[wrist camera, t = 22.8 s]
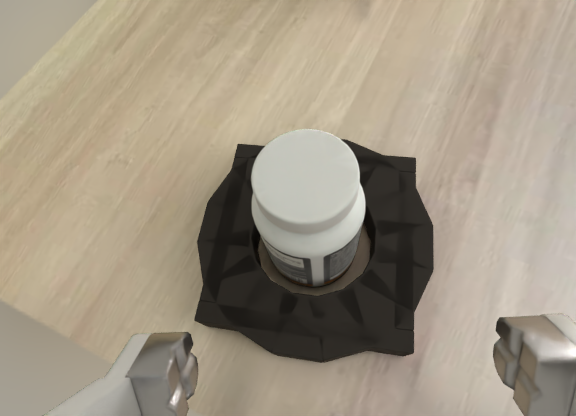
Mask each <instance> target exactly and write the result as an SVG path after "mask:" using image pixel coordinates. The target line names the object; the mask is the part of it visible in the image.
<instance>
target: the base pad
mask: <svg viewBox="0 0 576 416" xmlns="http://www.w3.org/2000/svg"><path fill="white" fill-rule="evenodd" d="M341 140H342V141H343V142H344V143H345V144H347V145H348V146H349V148H350V149H351V150H352V152H353V153H354V155H355V157H356V159H357V162H358V165H359V171H360V184H361V186H362V189H363V192H364V196H365V217H364V221H363V222H364V224H365V227H366V230H367V232H368V235H369V238H370V241H371V250H370V261H369V263H368V265H367V267H366V269H365V271H364V273H363V274H362V275H361V276H359V277H358V278H357V279H356V280H354V281H353V282H352V283H350V284H349V285H348V286H347V287H345V288H344V289H343V290H339V291H335V292H331V293H328V294H324V295H320V296H313V295H306V294H299V293H292V292H290V291H289V290H287V289H285V288H283V287H282V286H280V285H278V284H277V283H275V282H273V281H272V280H270V278H269V277H268V276H267V274H266V273H265V272H264V270H263V269H262V268H261V263H260V258H259V254H258V246H259V241H260V233H259V231H258V229H257V227H256V225H255V222H254V219H253V215H252V195H253V189H252V182H251V174H252V169H253V165H254V162H255V160H256V158H257V156H258V154H259V153H260V152H261V150H262V149H263V148H264V147H265V146H259V145H246V144H238V145H237V149H236V153H235V158H234V162H233V166H232V170H231V171H230V173H229V174H228V175H227V177H226V178H225V179H224V181H223V182H222V183H221V185H220V186H219V187H218V189H217V190H216V192H215V193H214V194H213V196H212V197H211V198H210V200H209V202H208V203H207V207H206V211H205V215H204V218H203V222H202V226H201V230H200V233H199V237H198V241H197V244H198V251H199V257H200V264H201V271H202V278H203V288H202V292H201V296H200V301H199V303H198V307H197V311H196V315H195V321H197V322H199V323H201V324H203V325H205V326H208V327H215V328H222V329H228V330H235V331H239V332H240V333H242V334H243V335H245V336H246V337H248V338H249V339H251V340H252V341H254V342H255V343H257V344H258V345H260V346H262V347H263V348H265V349H266V350H268V351H269V352H271V353H273V354H275V355H277V356H284V357H290V358H296V359H302V360H309V361H315V362H321V363H322V362H328V361H331V360H335V359H339V358H342V357H346V356H350V355H353V354H357V353H361V352H364V351H372V352H379V353H385V354H392V355H399V356H406V355H410V354H413V353H414V331H413V330H414V312H415V309H416V307H417V305H418V303H419V301H420V299H421V296H422V294H423V292H424V290H425V288H426V285H427V283H428V281H429V279H430V277H431V275H432V272H433V269H434V268H433V225H432V222H431V220H430V217H429V215H428V213H427V211H426V209H425V207H424V204H423V202H422V200H421V198H420V196H419V193H418V191H417V189H416V174H415V173H416V158H410V157H398V156H385V155H381V154H379V153H376V152H374V151H372V150H369V149H367V148H365V147H362V146H360V145H358V144H355V143H353V142H351V141H348V140H345V139H341Z"/></svg>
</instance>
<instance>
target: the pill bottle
mask: <svg viewBox="0 0 576 416" xmlns="http://www.w3.org/2000/svg"><path fill="white" fill-rule="evenodd" d="M251 182H252V189H253V195H252V215H253V219H254V222H255V225H256V227H257V229H258V231H259V233H260V236H261V238H262V240H263V242H264V244H265V246H266V249H267V251H268V253H269V255H270V258H271V260H272V262H273V263H274V265H275V267H276V268H277V270H278V271H279V272H280V273H281V274H282V275H283V276H284V277H285V278H287V279H288V280H290V281H292V282H293V283H296V284H299V285H302V286H309V287H317V286H323V285H327V284H330V283H332V282H334V281H336V280H337V279H338V278H340V277H341V276H342V275H343V274H344V273H345V272H346V271H347V270H348V268H349V267H350V265H351V263H352V261H353V259H354V256H355V253H356V250H357V245H358V241H359V237H360V233H361V229H362V225H363V221H364V217H365V196H364V192H363V189H362V186H361V184H360V171H359V165H358V162H357V159H356V157H355V155H354V153H353V152H352V150H351V149H350V148H349V146H348V145H347V144H345V143H344V142H343V141H342V140H341V139H339V138H338V137H336V136H335V135H332V134H330V133H328V132H325V131H321V130H315V129H300V130H294V131H290V132H287V133H284V134H282V135H280V136H278V137H276V138H275V139H273V140H272V141H270V142H269V143H268V144H267V145H266V146H265V147H264V148H263V149H262V150H261V152H260V153H259V154H258V156H257V158H256V160H255V162H254V165H253V169H252V174H251Z"/></svg>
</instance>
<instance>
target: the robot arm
mask: <svg viewBox="0 0 576 416" xmlns="http://www.w3.org/2000/svg"><path fill="white" fill-rule="evenodd" d="M496 332H497V333H498V335H499V336H500V337H501V338H500V339H499V340H498V341H497V342H496V343H495V344H494V350H493V358H494V363H495V368H496V370H497V373H498V375H499V377H500V378H501V380H502V382H503V383H504V384H505V385H507V386H508V387H510V388H511V389H513V390H514V396H513V399H514V401H515V402H516V404H517V405H518V407H519V409H520V410H521V412H522V413H523V415H524V416H576V323H575V322H574V321H573V320H572V319H571V318H570V317H569V316H567V315H565V314H563V313H558V314H544V315H539V316H519V317H500V318H499V319H498V321H497V325H496ZM192 346H193V341H192V337H191V334H189V333H188V332H171V333H142V334H135V335H133V336H131V338H130V339H129V341H128V342H127V344H126V345H125V347H124V348H123V350H122V351H121V353H120V354H119V356H118V357H117V359H116V360H115V362H114V363H113V365H112V366H111V368H110V369H109V371H108V372H107V374H106V376H105V377H104V378H102V379H97V380H95V381H94V382H92V383H91V384H89V385H88V386H86V387H85V388H83V389H82V390H80V391H79V392H77V393H76V394H74V395H73V396H71V397H70V398H69V399H67V400H65V401H64V402H63V403H61V404H59V405H58V406H56V407H55V408H53V409H52V410H50V411H49V412H47V413H46V414H44V415H43V416H187V413H188V410H189V407H188V403H187V400H188V399H189V398H190V397H191V396H192V395H194V392H195V389H196V386H197V380H198V363H197V358H196V357H195V356H194V355H193V354H192V353H191V352H190V351H191V349H192Z"/></svg>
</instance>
